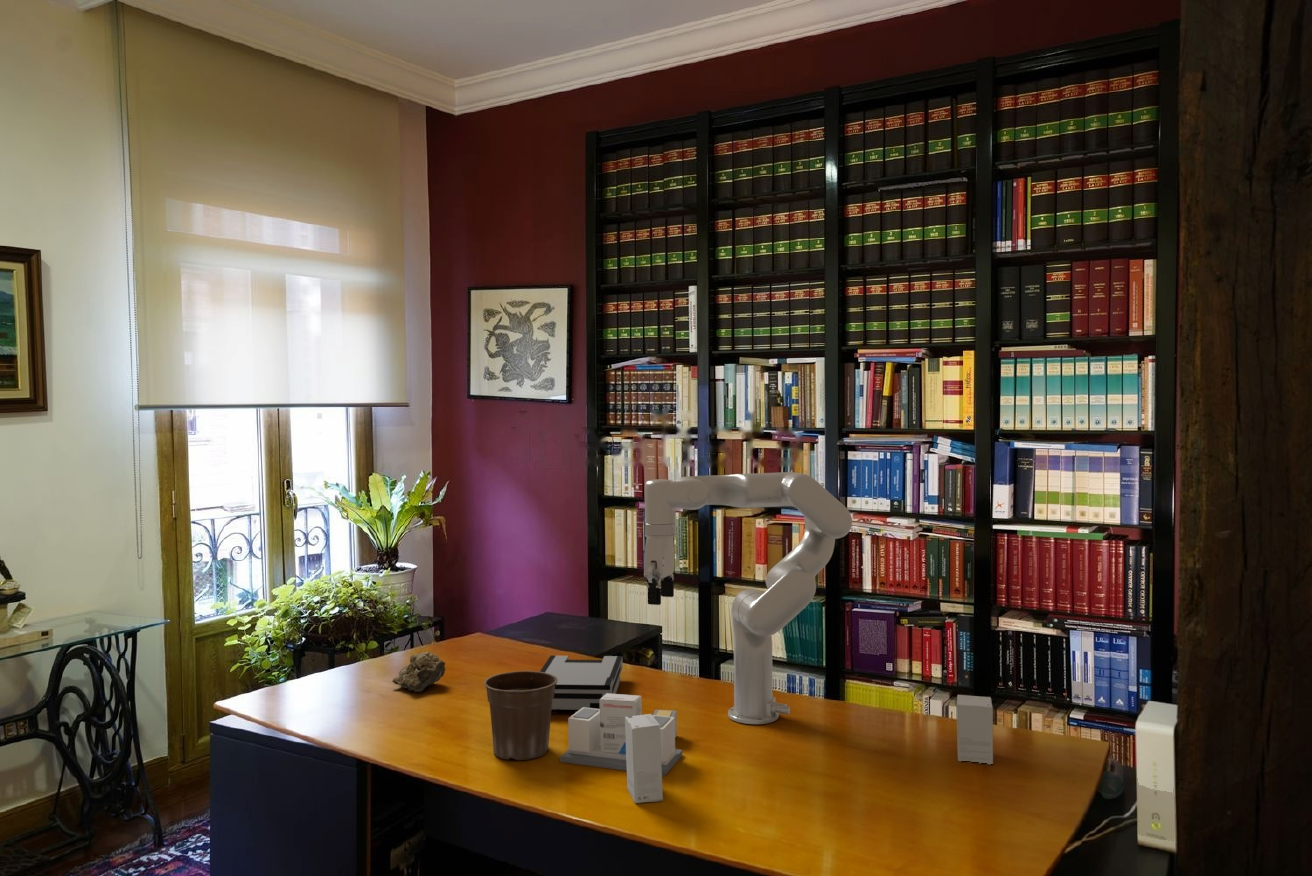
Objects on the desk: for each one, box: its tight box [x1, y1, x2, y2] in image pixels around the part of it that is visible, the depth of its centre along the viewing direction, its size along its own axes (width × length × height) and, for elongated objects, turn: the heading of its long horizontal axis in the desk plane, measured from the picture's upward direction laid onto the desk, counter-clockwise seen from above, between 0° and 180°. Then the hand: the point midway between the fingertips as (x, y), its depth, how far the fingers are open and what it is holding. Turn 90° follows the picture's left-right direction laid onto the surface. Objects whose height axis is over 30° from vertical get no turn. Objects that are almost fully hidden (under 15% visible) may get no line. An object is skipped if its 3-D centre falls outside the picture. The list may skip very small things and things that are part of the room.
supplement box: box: [956, 694, 994, 765], centre depth 195 cm, size 7×7×13 cm
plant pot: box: [483, 670, 558, 761], centre depth 201 cm, size 16×16×16 cm
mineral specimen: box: [391, 651, 446, 693], centre depth 250 cm, size 14×13×10 cm
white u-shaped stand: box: [559, 707, 683, 777], centre depth 196 cm, size 24×12×9 cm, turn 71°
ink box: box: [599, 693, 643, 754], centre depth 196 cm, size 9×5×12 cm, turn 75°
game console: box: [539, 654, 623, 713], centre depth 241 cm, size 21×32×8 cm, turn 177°
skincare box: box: [625, 713, 664, 804], centre depth 177 cm, size 8×6×15 cm
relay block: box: [652, 709, 678, 738], centre depth 208 cm, size 5×6×6 cm
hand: (661, 600), depth 218 cm, fingers open, 9 cm apart
